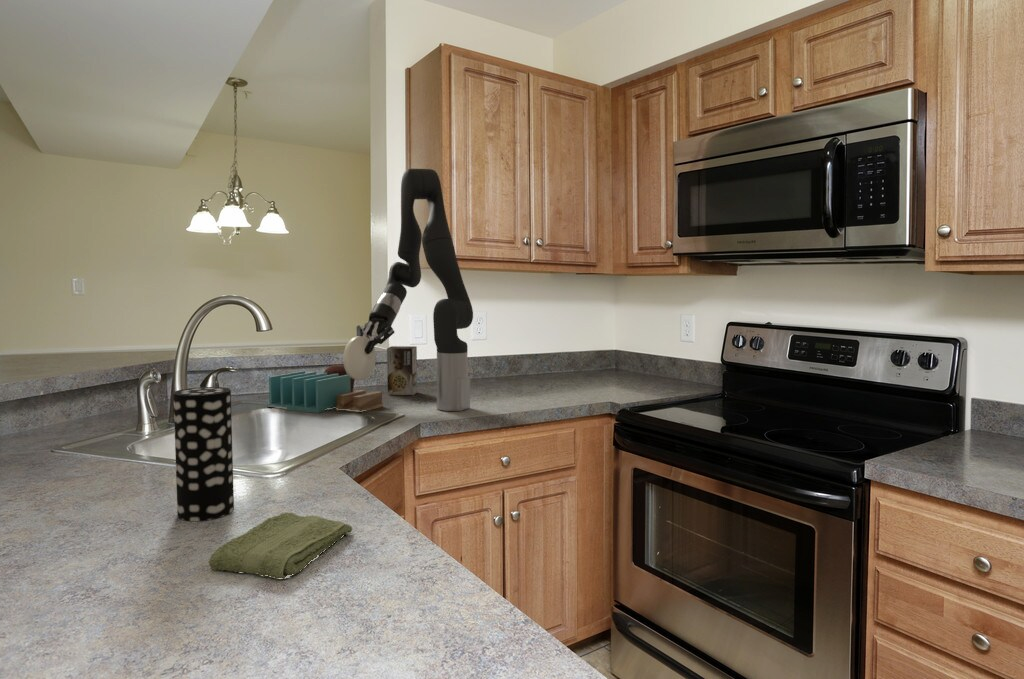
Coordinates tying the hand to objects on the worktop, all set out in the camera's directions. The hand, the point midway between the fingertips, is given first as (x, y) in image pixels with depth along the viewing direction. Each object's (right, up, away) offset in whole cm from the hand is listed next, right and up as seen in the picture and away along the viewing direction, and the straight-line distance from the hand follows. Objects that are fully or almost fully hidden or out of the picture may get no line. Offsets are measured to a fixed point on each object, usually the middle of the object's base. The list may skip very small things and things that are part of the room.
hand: (363, 352), depth 193 cm
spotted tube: (-5, -25, -88) cm, 92 cm away
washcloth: (+13, -26, -103) cm, 107 cm away
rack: (-17, -16, +3) cm, 24 cm away
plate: (-1, -2, -1) cm, 2 cm away
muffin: (-14, -15, +24) cm, 31 cm away
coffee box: (+7, -15, +27) cm, 31 cm away
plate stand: (-1, -17, 0) cm, 17 cm away
